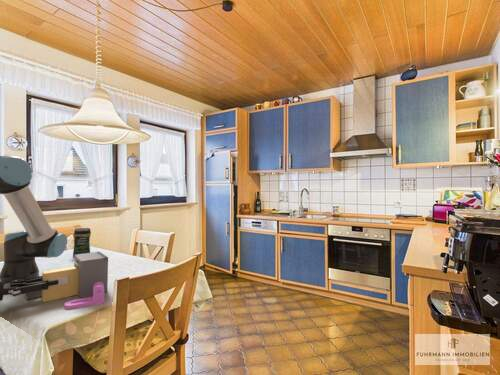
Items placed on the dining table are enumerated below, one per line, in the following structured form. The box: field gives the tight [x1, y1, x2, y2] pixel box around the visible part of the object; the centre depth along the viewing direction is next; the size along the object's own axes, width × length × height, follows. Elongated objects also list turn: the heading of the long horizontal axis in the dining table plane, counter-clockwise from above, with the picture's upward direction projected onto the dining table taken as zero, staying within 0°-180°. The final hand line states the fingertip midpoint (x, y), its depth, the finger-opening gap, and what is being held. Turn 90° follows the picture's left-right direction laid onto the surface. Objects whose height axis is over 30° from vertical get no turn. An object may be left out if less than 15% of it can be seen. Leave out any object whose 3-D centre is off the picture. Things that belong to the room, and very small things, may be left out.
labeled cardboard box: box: [41, 265, 79, 303], centre depth 112 cm, size 4×16×11 cm, turn 133°
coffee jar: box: [72, 227, 92, 258], centre depth 175 cm, size 10×8×19 cm
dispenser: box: [73, 251, 109, 299], centre depth 117 cm, size 14×11×15 cm
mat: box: [25, 290, 42, 301], centre depth 117 cm, size 12×18×1 cm, turn 133°
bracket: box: [63, 282, 105, 310], centre depth 104 cm, size 13×6×7 cm, turn 121°
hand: (66, 278), depth 112 cm, fingers closed on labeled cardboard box, 4 cm apart
